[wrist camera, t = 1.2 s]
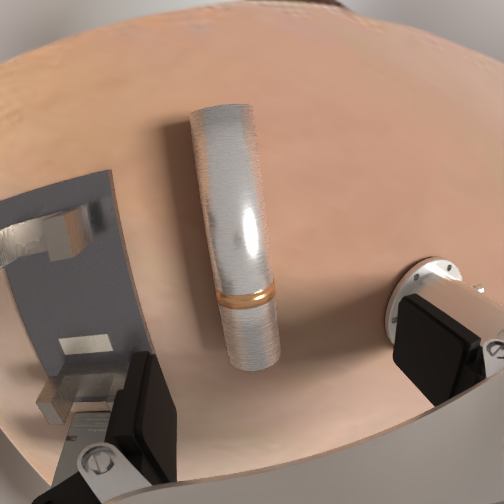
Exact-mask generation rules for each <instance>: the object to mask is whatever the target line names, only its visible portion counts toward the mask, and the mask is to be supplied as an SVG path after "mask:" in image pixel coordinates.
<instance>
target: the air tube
mask: <svg viewBox="0 0 504 504" xmlns="http://www.w3.org/2000/svg"><path fill="white" fill-rule="evenodd" d="M189 118H190V126H191V134H192V142H193V149H194V157H195V164H196V171H197V178H198V185H199V192H200V198H201V205H202V212H203V218H204V224H205V230H206V237H207V243H208V249H209V255H210V260H211V266H212V272H213V278H214V283H215V292H216V298H217V302H218V305H219V310H220V316H221V321H222V326H223V331H224V336H225V341H226V346H227V351H228V356H229V361H230V363H231V364H232V365H233V366H234V367H235V368H237V369H240V370H244V371H258V370H263V369H266V368H268V367H270V366H272V365H274V364H275V363H276V362H277V361H278V360H279V358H280V356H281V350H280V340H279V329H278V320H277V310H276V300H275V285H274V279H273V272H272V263H271V254H270V245H269V236H268V227H267V219H266V210H265V201H264V193H263V185H262V176H261V168H260V160H259V152H258V144H257V136H256V129H255V121H254V113H253V106H251V105H247V104H229V105H220V106H214V107H209V108H204V109H201V110H197V111H195V112H192V113H191V114H190V115H189Z"/></svg>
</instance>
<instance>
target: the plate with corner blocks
mask: <svg viewBox="0 0 504 504" xmlns="http://www.w3.org/2000/svg"><path fill="white" fill-rule="evenodd" d="M3 267H5V269H6V272H7V276H8V279H9V282H10V285H11V288H12V291H13V294H14V297H15V300H16V303H17V305H18V308H19V311H20V314H21V316H22V319H23V321H24V324H25V326H26V329H27V331H28V333H29V336H30V338H31V340H32V343H33V345H34V347H35V349H36V352H37V354H38V356H39V358H40V360H41V362H42V364H43V366H44V368H45V370H46V372H47V374H48V376H49V379H48V381H47V382H46V384H45V386H44V388H43V390H42V391H41V393H40V395H39V397H38V399H37V401H36V404H37V405H38V407H39V409H40V410H41V412H42V413H43V415H44V416H45V418H46V419H47V421H48V422H49V424H62V425H64V424H65V422H66V419H67V417H68V414H69V412H70V409H71V407H72V404H73V402H99V401H106V404H107V405H108V407H109V409H110V411H112V407H113V403H114V399H115V396H116V393H117V391H118V390H119V389H123V388H124V384H125V380H126V376H127V373H128V369H129V365H130V362H131V358H132V354H133V353H134V352H142V351H149V352H150V354H155V351H154V348H153V345H152V342H151V338H150V335H149V332H148V329H147V325H146V322H145V319H144V315H143V312H142V308H141V305H140V301H139V298H138V294H137V290H136V287H135V283H134V279H133V275H132V271H131V267H130V263H129V258H128V254H127V250H126V245H125V241H124V236H123V231H122V227H121V222H120V217H119V211H118V206H117V201H116V195H115V189H114V183H113V177H112V170H106V171H102V172H97V173H93V174H89V175H85V176H82V177H78V178H74V179H70V180H67V181H63V182H60V183H56V184H53V185H49V186H46V187H43V188H39V189H36V190H33V191H30V192H27V193H23V194H20V195H17V196H14V197H11V198H9V199H6V200H3V201H0V269H2V268H3ZM155 355H156V354H155Z"/></svg>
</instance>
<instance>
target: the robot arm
mask: <svg viewBox="0 0 504 504" xmlns="http://www.w3.org/2000/svg"><path fill="white" fill-rule="evenodd" d="M483 291H484V290H483V286H482V285H481V284H479V285H476V286H473V287H472V286H470V285H468V284H466V283H464V282H463V281H462V277H461V274H460V271H459V270H458V268H457V266H456V265H455V264H454V263H452V262H451V261H449V260H447V259H444V258H441V257H432V258H428V259H425V260H423V261H421V262H419V263H418V264H416V265H415V266H414V267H412V268H411V269H410V270H409V271H408V272H407V273H406V274H405V275H404V276H403V278H402V279H401V280H400V281H399V283H398V284H397V286H396V288H395V289H394V291H393V293H392V295H391V298H390V300H389V303H388V306H387V310H386V316H385V329H386V333H387V336H388V338H389V340H390V341H391V342H392V343H393V344H394V350H393V360H394V363H395V364H396V365H397V366H398V367H399V368H400V369H401V370H402V371H403V373H404V374H405V375H406V376H407V377H408V378H409V379H410V380H411V381H412V382H413V383H414V384H415V386H416V387H417V388H418V389H419V390H420V391H421V392H422V393H423V394H424V395H425V397H426V398H427V399H428V400H429V401H430V402H431V403H432V404H433V405H434V406H435V407H434V408H432V409H430V410H428V411H426V412H424V413H422V414H420V415H418V416H416V417H414V418H411V419H409V420H407V421H405V422H403V423H400V424H398V425H396V426H394V427H391V428H389V429H387V430H384V431H382V432H379V433H377V434H374V435H372V436H369V437H366V438H364V439H361V440H358V441H356V442H353V443H350V444H347V445H344V446H341V447H338V448H335V449H332V450H329V451H326V452H323V453H319V454H316V455H313V456H309V457H305V458H302V459H298V460H294V461H290V462H286V463H282V464H278V465H274V466H269V467H265V468H260V469H255V470H250V471H244V472H239V473H234V474H228V475H222V476H215V477H208V478H200V479H193V480H186V481H179V482H177V468H176V441H177V412H176V408H175V405H174V403H173V400H172V398H171V395H170V393H169V390H168V387H167V385H166V382H165V379H164V377H163V374H162V371H161V368H160V365H159V363H158V360H157V357H156V355H155V354H150V352H149V351H142V352H134V353H133V354H132V358H131V362H130V365H129V369H128V373H127V376H126V380H125V384H124V388H123V389H119V390H118V391H117V393H116V396H115V399H114V403H113V407H112V411H111V415H110V419H109V423H108V427H107V431H106V435H105V439H104V442H99V443H94V444H91V445H89V446H87V447H86V448H85V449H83V450H82V451H81V453H80V454H79V456H78V459H77V467H78V470H79V471H78V472H77V473H75V474H74V475H72V476H70V477H69V478H67V479H66V480H64V481H63V482H61V483H60V484H58V485H56V486H55V487H53V488H52V489H50V490H48V491H47V492H45V493H43V494H42V495H40V496H38V497H37V498H36V499H35V500H34V501H33V502H32V504H504V305H503V304H501V303H499V302H498V301H496V300H494V299H492V298H491V297H489V296H487V295H485V294H483Z"/></svg>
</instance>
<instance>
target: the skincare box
mask: <svg viewBox="0 0 504 504" xmlns="http://www.w3.org/2000/svg"><path fill="white" fill-rule="evenodd" d="M110 415H111V412H97V413H75V415H74V418H73V420H72V423H71V426H70V429H69V432H68V435H67V437H66V440H65V443H64V446H63V449H62V453H61V456H60V459H59V462H58V465H57V468H56V472H55V475H54V479H53V482H52V486H51V489H52V488H53V487H55V486H56V485H58V484H60V483H61V482H63V481H64V480H66V479H67V478H69V477H70V476H72V475H74V474H75V473H77V472H78V471H79V470H78V467H77V459H78V456H79V454H80V453H81V451H82V450H83V449H85V448H86V447H87V446H89V445H91V444H94V443H99V442H104V439H105V435H106V431H107V427H108V423H109V419H110Z"/></svg>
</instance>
